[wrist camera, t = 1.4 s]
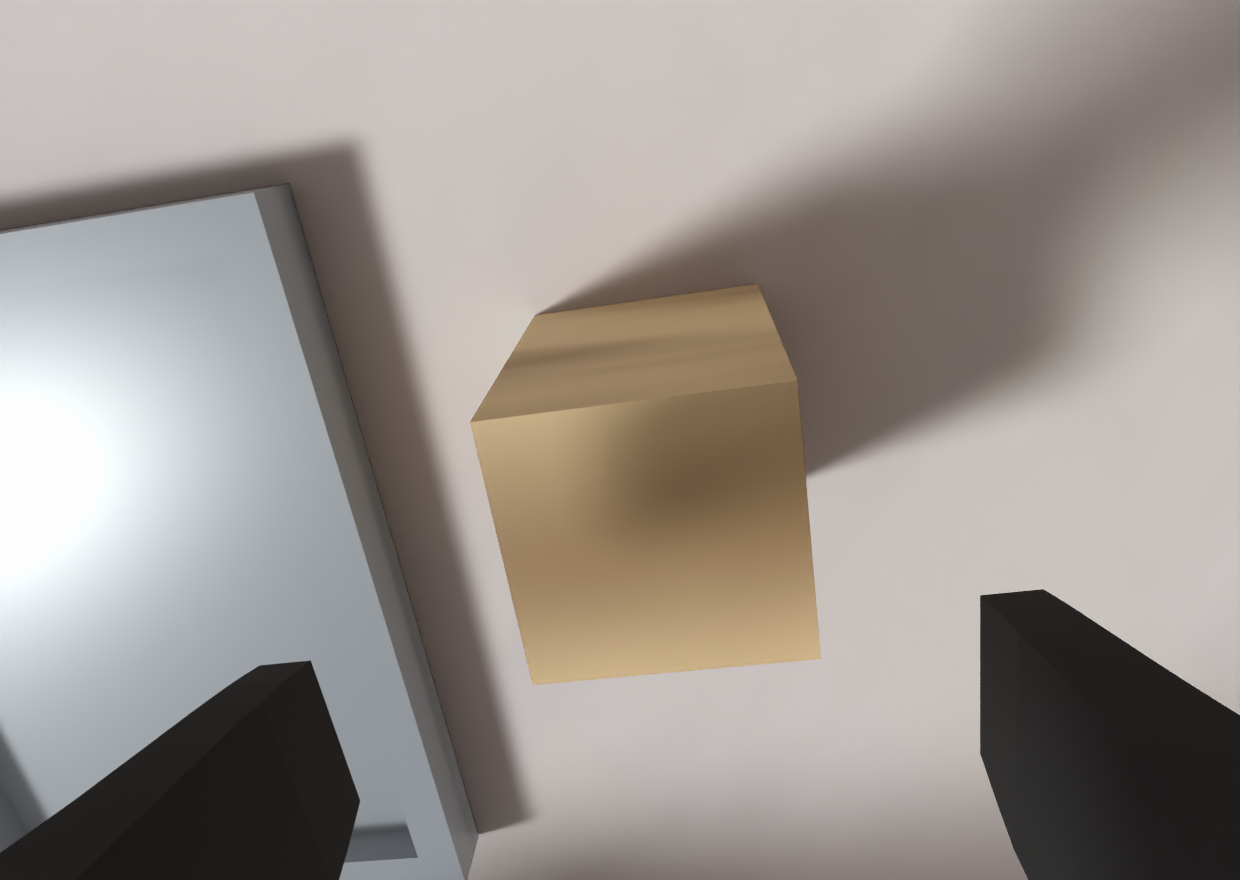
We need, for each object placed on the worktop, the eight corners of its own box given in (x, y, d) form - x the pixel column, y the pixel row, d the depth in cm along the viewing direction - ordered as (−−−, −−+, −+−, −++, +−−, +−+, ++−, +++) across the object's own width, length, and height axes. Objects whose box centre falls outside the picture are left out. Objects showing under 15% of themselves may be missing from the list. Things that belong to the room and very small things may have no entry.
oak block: (777, 487, 19) (820, 658, 13) (574, 510, 19) (532, 684, 14) (757, 283, 17) (796, 380, 11) (534, 315, 17) (469, 421, 12)
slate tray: (478, 835, 23) (465, 883, 22) (36, 867, 24) (-2, 914, 23) (288, 183, 17) (253, 192, 15) (-291, 278, 18) (-371, 294, 17)
